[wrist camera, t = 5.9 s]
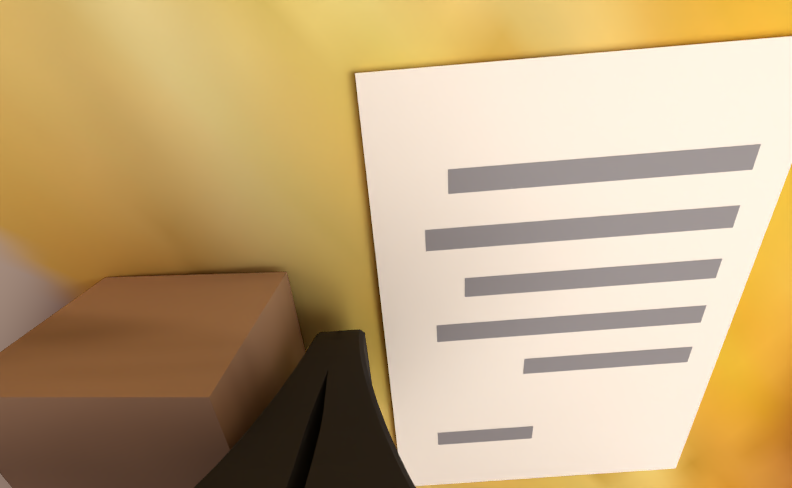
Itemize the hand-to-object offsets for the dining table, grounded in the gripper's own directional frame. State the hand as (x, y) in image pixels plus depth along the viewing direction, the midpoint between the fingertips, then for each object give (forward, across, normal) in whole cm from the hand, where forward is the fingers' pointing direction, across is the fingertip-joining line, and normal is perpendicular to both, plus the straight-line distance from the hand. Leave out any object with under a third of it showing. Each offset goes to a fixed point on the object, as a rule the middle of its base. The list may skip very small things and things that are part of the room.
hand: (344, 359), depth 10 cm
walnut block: (+1, +4, 0) cm, 4 cm away
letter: (+1, -6, 0) cm, 6 cm away
